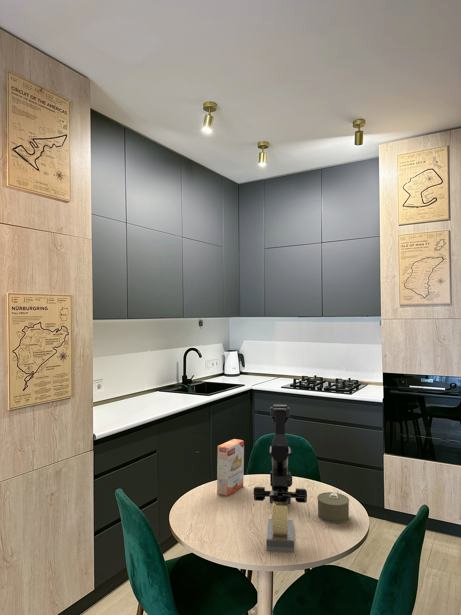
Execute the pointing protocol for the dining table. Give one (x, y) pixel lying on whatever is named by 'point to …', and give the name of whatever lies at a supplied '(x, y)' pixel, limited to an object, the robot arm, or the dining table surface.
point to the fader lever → (280, 521)
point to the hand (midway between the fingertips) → (280, 519)
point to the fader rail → (280, 544)
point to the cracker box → (230, 466)
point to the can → (333, 507)
